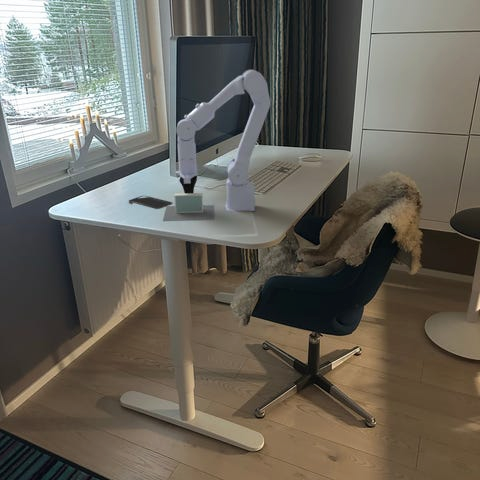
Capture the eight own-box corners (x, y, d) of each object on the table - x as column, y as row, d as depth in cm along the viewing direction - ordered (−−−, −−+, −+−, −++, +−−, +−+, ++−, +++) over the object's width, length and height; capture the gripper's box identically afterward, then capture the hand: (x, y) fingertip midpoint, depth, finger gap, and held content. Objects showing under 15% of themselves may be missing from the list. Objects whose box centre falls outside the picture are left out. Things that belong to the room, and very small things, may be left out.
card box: (203, 210, 150) (202, 193, 148) (203, 212, 149) (202, 194, 146) (175, 211, 150) (174, 193, 147) (175, 212, 148) (174, 195, 146)
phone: (157, 208, 151) (127, 200, 159) (158, 212, 152) (127, 203, 160) (174, 202, 157) (143, 195, 165) (174, 205, 158) (144, 197, 166)
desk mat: (213, 206, 155) (213, 205, 155) (214, 221, 142) (214, 219, 142) (166, 207, 154) (166, 206, 154) (162, 222, 142) (162, 221, 141)
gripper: (176, 153, 152) (178, 192, 158) (173, 163, 139) (175, 205, 144) (197, 152, 153) (199, 191, 158) (196, 163, 139) (198, 205, 145)
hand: (189, 198), depth 151 cm, fingers closed
